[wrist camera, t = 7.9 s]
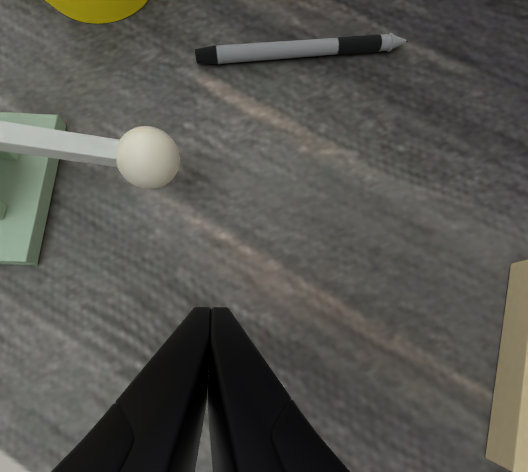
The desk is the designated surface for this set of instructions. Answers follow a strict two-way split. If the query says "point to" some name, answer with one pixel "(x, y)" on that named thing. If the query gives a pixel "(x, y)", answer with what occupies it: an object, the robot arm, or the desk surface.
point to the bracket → (25, 194)
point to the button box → (512, 380)
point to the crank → (97, 9)
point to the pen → (297, 48)
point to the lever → (101, 150)
